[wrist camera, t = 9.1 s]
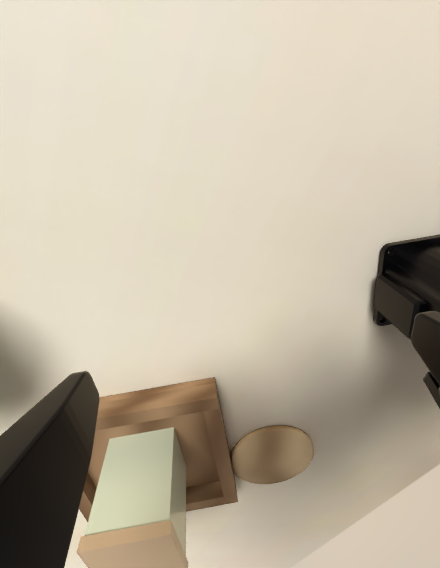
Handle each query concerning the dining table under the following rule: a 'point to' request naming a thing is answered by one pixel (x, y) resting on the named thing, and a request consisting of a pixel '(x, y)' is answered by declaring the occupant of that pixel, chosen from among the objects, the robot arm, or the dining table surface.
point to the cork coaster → (272, 454)
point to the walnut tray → (189, 429)
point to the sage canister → (139, 505)
